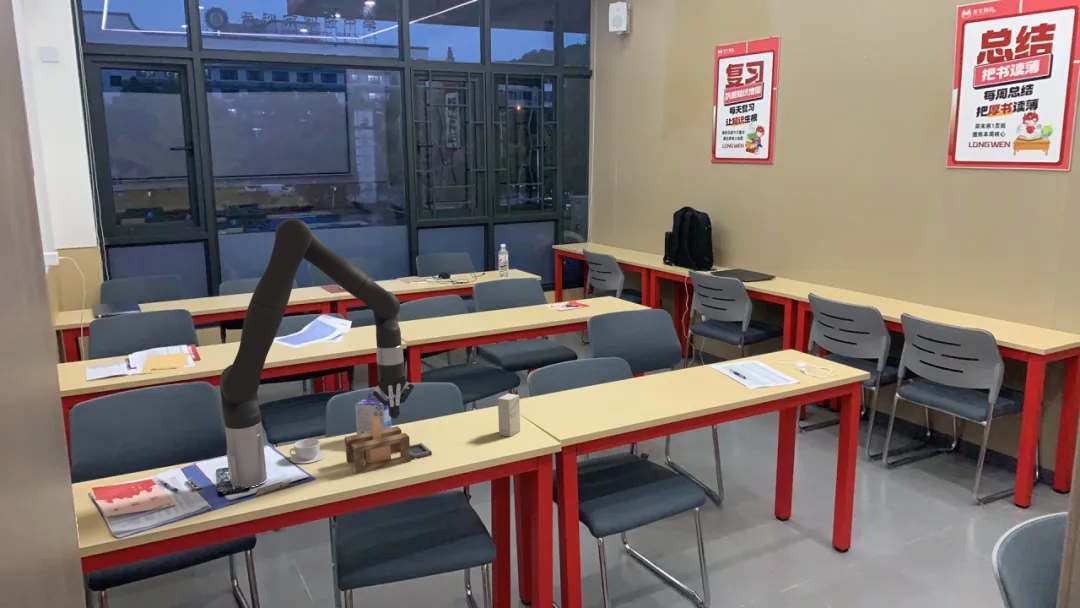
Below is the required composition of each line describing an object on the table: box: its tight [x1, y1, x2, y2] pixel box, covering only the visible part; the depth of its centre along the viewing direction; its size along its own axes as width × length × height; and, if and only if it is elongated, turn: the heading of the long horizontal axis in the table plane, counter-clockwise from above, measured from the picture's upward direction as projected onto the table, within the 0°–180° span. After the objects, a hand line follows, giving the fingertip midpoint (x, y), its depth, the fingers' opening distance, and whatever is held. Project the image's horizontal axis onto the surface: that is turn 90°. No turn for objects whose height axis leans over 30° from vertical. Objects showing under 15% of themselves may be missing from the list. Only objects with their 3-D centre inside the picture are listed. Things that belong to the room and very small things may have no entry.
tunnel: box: [344, 425, 412, 475], centre depth 223 cm, size 16×10×8 cm, turn 120°
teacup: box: [289, 438, 326, 464], centre depth 228 cm, size 10×10×5 cm
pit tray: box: [410, 442, 433, 460], centre depth 229 cm, size 6×8×1 cm
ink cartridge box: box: [354, 392, 392, 435], centre depth 240 cm, size 10×6×14 cm, turn 78°
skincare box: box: [497, 393, 521, 437], centre depth 243 cm, size 6×4×12 cm
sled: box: [365, 417, 392, 464], centre depth 222 cm, size 6×5×13 cm
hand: (394, 417), depth 224 cm, fingers closed
